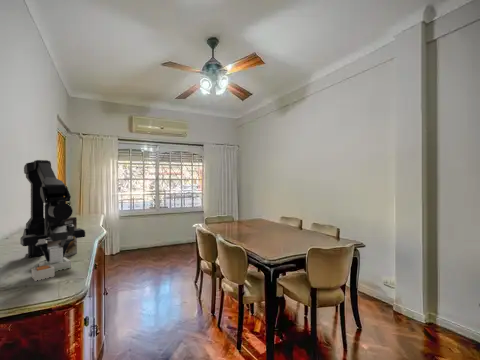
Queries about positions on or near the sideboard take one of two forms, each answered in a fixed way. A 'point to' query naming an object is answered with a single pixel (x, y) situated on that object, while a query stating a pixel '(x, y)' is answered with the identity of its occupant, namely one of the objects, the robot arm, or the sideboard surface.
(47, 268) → the button
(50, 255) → the billet
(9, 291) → the sideboard surface
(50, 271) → the button housing
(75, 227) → the coffee box
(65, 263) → the white square tray
